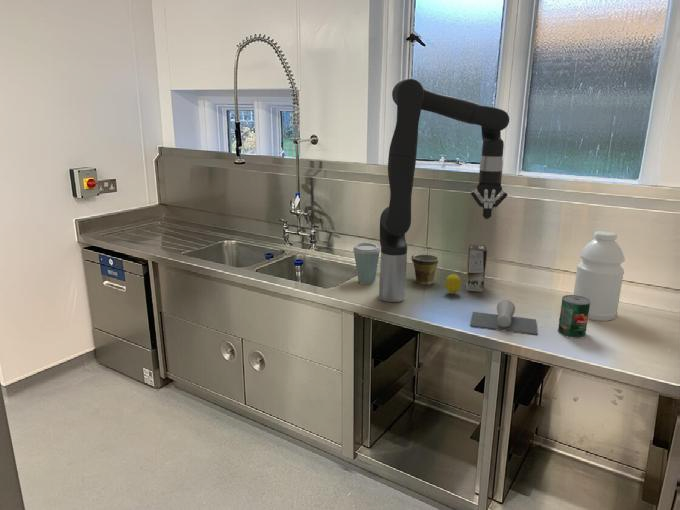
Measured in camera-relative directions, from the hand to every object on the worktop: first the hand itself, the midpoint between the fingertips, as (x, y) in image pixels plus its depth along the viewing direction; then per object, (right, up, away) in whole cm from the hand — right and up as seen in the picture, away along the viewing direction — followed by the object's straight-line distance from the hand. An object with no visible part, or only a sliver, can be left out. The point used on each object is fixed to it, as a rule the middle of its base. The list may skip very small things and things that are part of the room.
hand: (486, 218), depth 184 cm
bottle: (+34, -33, -8) cm, 48 cm away
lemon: (-10, -28, +9) cm, 31 cm away
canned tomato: (+19, -37, -24) cm, 48 cm away
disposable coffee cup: (-42, -24, +22) cm, 53 cm away
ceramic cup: (-19, -24, +24) cm, 39 cm away
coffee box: (0, -26, +17) cm, 31 cm away
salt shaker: (+3, -30, -12) cm, 32 cm away
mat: (0, -35, -17) cm, 39 cm away
